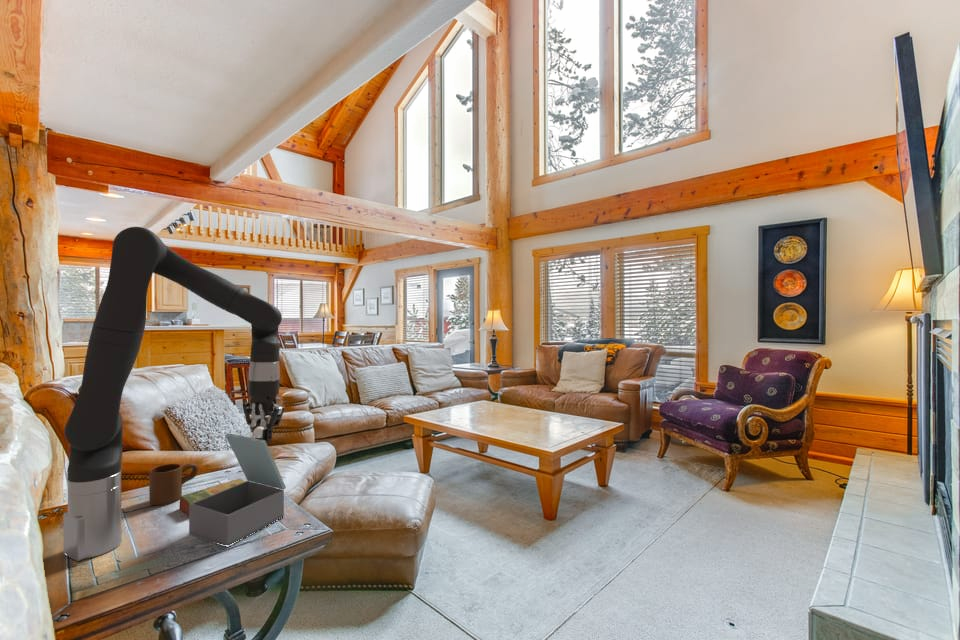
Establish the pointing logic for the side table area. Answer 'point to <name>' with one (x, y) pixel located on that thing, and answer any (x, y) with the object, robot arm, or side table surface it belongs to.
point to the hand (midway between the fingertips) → (262, 441)
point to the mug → (168, 482)
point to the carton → (204, 494)
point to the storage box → (235, 512)
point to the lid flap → (256, 459)
